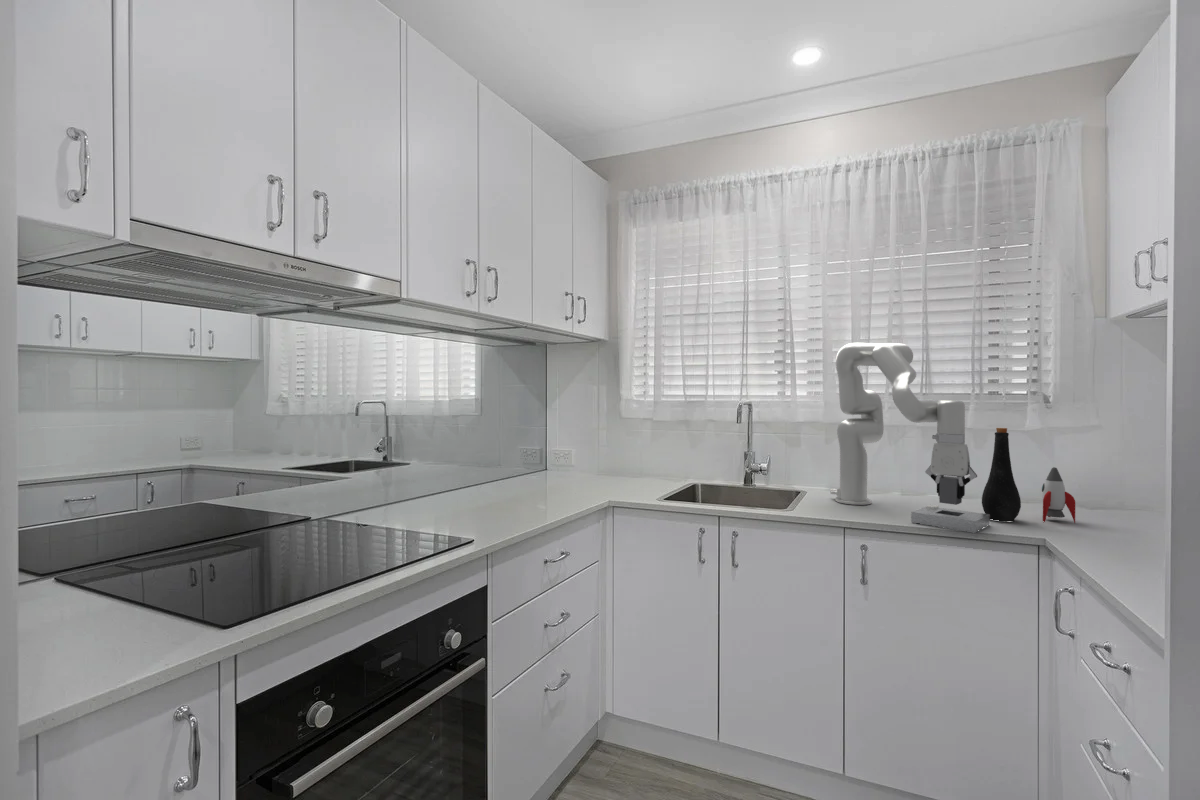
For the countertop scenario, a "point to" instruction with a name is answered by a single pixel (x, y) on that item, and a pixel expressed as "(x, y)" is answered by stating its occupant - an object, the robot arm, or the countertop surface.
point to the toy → (1056, 496)
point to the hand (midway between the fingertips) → (950, 496)
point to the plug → (949, 490)
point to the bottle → (1001, 483)
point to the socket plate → (950, 518)
